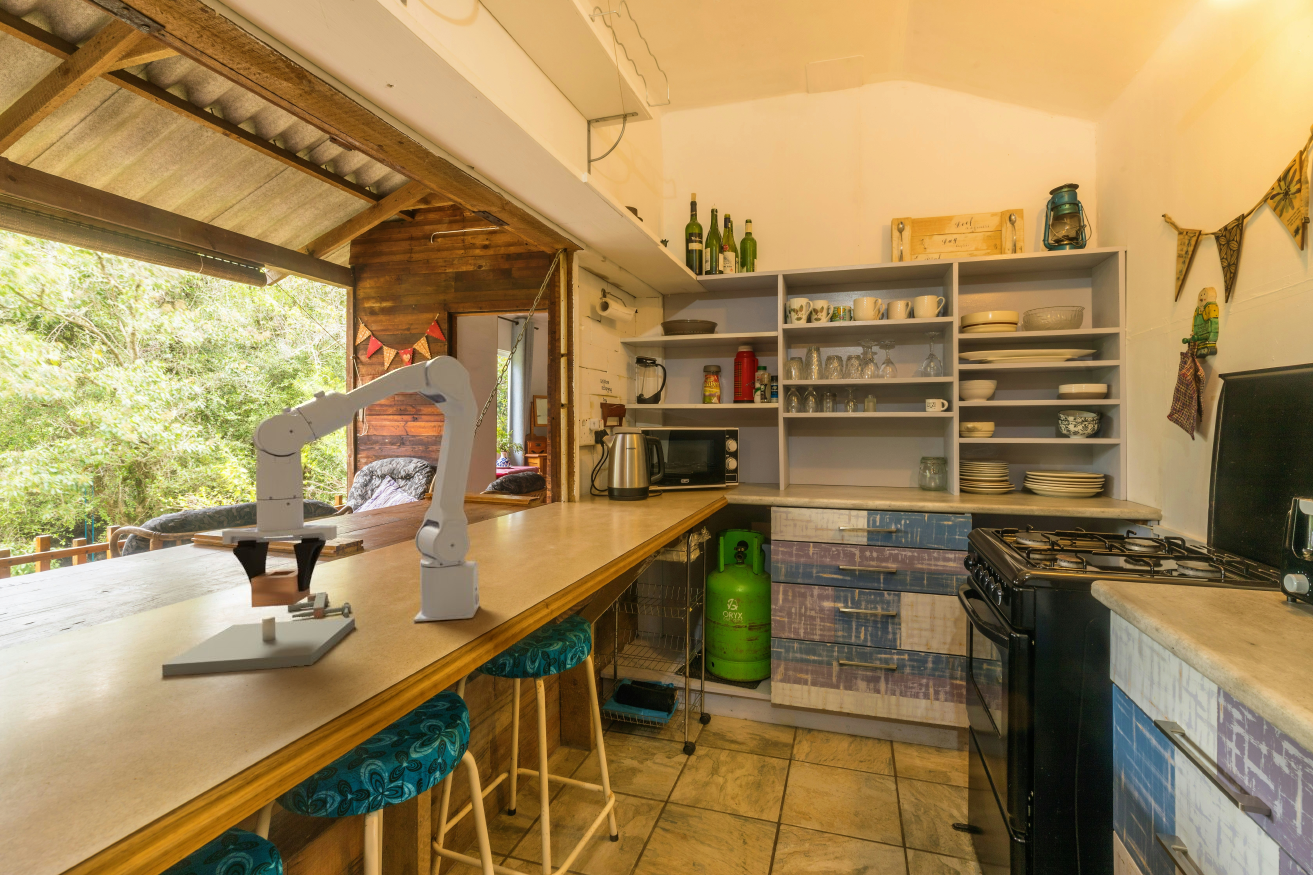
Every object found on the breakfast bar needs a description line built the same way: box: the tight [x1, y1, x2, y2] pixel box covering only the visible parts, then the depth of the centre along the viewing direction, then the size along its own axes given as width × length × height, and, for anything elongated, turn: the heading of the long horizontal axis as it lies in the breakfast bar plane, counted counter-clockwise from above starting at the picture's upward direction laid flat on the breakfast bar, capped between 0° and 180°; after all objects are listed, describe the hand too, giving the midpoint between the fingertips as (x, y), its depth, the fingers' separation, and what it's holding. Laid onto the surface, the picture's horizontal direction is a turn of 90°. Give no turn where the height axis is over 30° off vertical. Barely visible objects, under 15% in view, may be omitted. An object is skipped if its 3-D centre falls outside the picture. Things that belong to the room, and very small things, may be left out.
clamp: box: [287, 591, 352, 619], centre depth 102 cm, size 15×2×10 cm
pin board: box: [161, 615, 356, 677], centre depth 84 cm, size 18×16×4 cm
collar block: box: [250, 568, 311, 608], centre depth 84 cm, size 5×5×4 cm
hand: (281, 590), depth 84 cm, fingers closed on collar block, 5 cm apart
